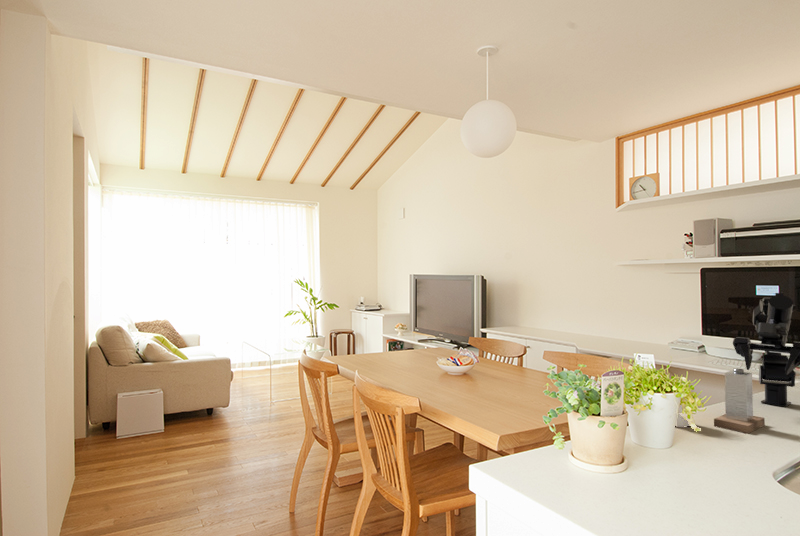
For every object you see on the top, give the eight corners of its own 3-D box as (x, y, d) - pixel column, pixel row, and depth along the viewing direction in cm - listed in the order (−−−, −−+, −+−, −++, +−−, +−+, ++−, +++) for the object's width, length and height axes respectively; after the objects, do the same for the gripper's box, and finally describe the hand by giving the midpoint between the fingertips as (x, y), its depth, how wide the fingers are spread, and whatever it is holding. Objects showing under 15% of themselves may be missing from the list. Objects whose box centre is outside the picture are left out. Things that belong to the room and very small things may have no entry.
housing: (731, 414, 137) (731, 367, 137) (753, 418, 133) (752, 369, 134) (725, 418, 134) (724, 369, 134) (747, 422, 130) (746, 371, 130)
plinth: (731, 418, 140) (731, 411, 140) (764, 425, 134) (764, 417, 134) (714, 426, 133) (713, 418, 133) (748, 433, 127) (747, 425, 127)
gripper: (734, 311, 152) (722, 350, 145) (810, 314, 137) (801, 357, 130) (742, 334, 157) (731, 373, 149) (817, 340, 142) (809, 383, 135)
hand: (766, 371), depth 141 cm, fingers open, 9 cm apart
